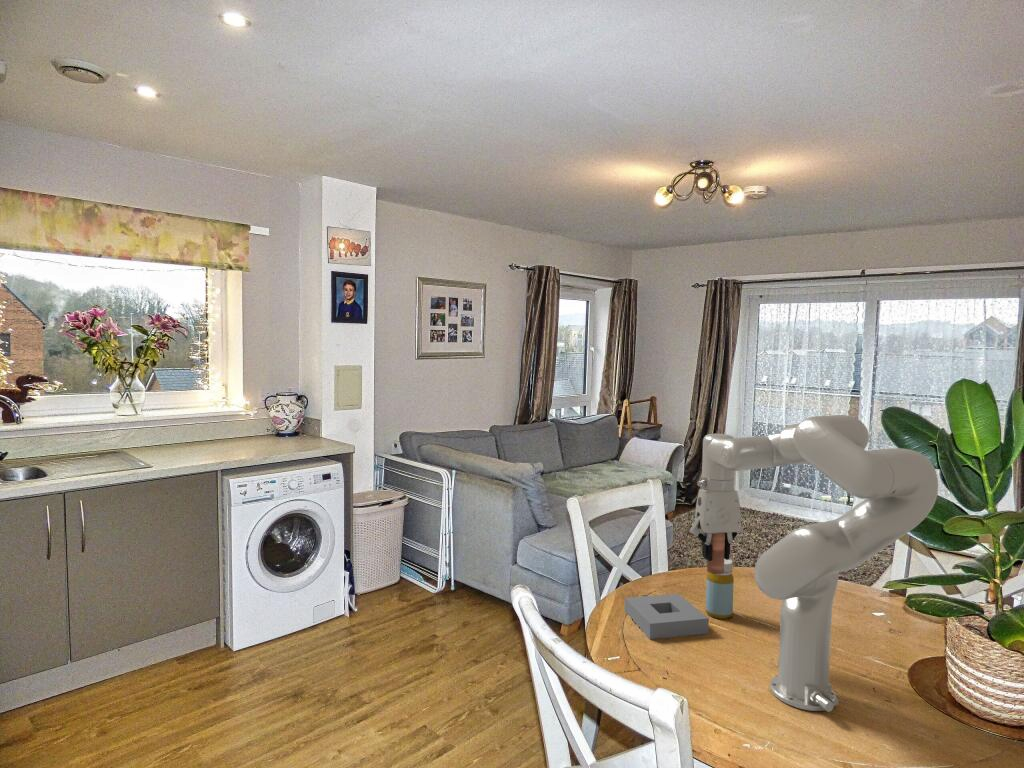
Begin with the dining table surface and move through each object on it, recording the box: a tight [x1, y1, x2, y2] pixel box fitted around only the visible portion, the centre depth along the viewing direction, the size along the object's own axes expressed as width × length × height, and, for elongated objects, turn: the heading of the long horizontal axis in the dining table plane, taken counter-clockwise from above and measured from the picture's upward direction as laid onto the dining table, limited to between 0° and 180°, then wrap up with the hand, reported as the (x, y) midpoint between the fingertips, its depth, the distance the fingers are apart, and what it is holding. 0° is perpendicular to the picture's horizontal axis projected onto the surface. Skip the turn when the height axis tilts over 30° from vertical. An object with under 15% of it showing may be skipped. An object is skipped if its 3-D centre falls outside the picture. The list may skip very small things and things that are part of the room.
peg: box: [706, 533, 725, 574], centre depth 151 cm, size 4×4×12 cm
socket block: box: [624, 593, 710, 640], centre depth 162 cm, size 16×16×4 cm
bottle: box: [705, 558, 735, 620], centre depth 168 cm, size 7×7×15 cm
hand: (715, 557), depth 151 cm, fingers closed on peg, 4 cm apart
